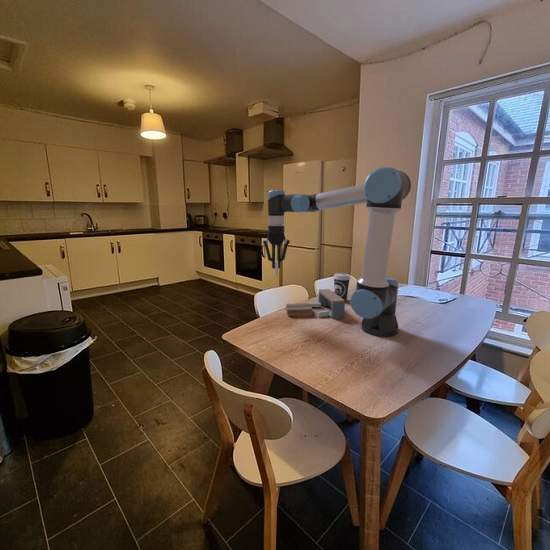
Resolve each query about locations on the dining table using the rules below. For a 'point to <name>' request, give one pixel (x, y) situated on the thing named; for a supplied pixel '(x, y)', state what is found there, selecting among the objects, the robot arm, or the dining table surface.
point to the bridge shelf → (330, 304)
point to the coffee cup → (341, 284)
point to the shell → (299, 309)
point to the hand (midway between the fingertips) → (276, 274)
